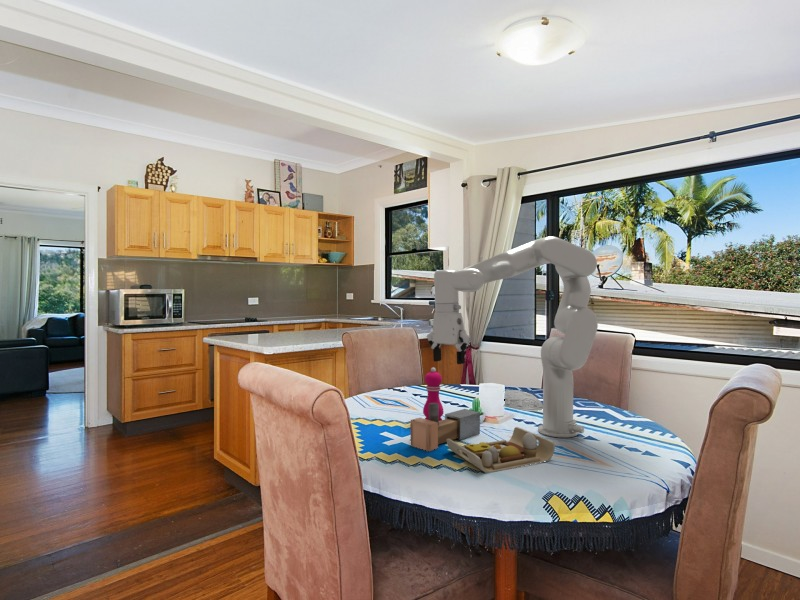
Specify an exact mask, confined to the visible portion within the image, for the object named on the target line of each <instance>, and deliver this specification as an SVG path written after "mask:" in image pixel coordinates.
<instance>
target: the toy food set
mask: <svg viewBox="0 0 800 600" xmlns="http://www.w3.org/2000/svg"><path fill="white" fill-rule="evenodd" d="M446 441H447V442H446V444H447V446H448V449H449V450H450V451H451V452H453V453H455V454H456V455H457V456H458V457H461V458H462V459H463V460H466V461H467V462H469V463H470V464H471V465H473V466H474V467H475V468H478V469H479V470H480V471H482V472H484V473H485V474H490V473H496V472H502V471H507V470H512V468H513V469H518V468H522V467H521V466H524V467H526V466H525V465H529V466H531V465H530V464H535V463H540V462H544V461H548V462H549V461H550V460H551V459H552V458H553V456H554V453H555V449H556V443H555V442H554V441H552V440H550V439H547V438H546V437H543V436H540V435H539V434H536V433H533V432H531V431H528V430H526V429H524V428H522V427H518V426H516V427H514V428H513V433H512V435H511V437H510V439H509V440H505V439H502V440H496V441H490V442H483V441H481V442H479V443H477V444H475V443H469V444H465V445H463V446H462V445H460V444H459V443H457V442H456V441H454V440H451V439H446ZM540 464H541V463H540ZM535 465H536V464H535ZM517 467H518V468H517Z"/></svg>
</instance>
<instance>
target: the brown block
mask: <svg viewBox="0 0 800 600" xmlns="http://www.w3.org/2000/svg"><path fill="white" fill-rule="evenodd" d="M411 445H412V446H411ZM410 446H411V447H414V448H416V447H417V449H419V448H420V450H422V449H423V450H422V451H425V450H426V451H425V452H428V451H429V452H432V451H435V450H438V449H439V444H438V423H437V422H434V421H430V420H427V419H425V418H422V417H417V418H413V419H410ZM437 448H438V449H437ZM434 449H435V450H434Z"/></svg>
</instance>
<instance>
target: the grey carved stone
mask: <svg viewBox="0 0 800 600" xmlns="http://www.w3.org/2000/svg"><path fill="white" fill-rule="evenodd" d="M504 391H505V406H504V407H506V408H509V409H512V410H513V409H514V410H520V411H527V412H538V410H539V411H543V410H542V409H543V402H542V401H541V400H539V398H538V397H536V396H535V395H534V394H532V393H529V392H525V391H520V390H514V389H513V390H510V389H505V390H504Z"/></svg>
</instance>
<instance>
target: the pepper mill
mask: <svg viewBox="0 0 800 600" xmlns="http://www.w3.org/2000/svg"><path fill="white" fill-rule="evenodd" d="M442 380H443V378H442V375H441V373H439V372H438V371H437V369H436V367H431V368H430V371H429V372H427V373H426V374H425V376H424V382H425V384H426V388H425V389H426V391H427V398H426V401H425V403H424V406H423V409H422V410H423V411H422V414H423V416H425V417H424V419H427V420H429V403H438V404H439V421H441V420H443V418H442V417H443V415H444V413H445V412H444V407H443V405H442V404H443V403H442V402H441V399H440V391H441V383H442Z"/></svg>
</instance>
